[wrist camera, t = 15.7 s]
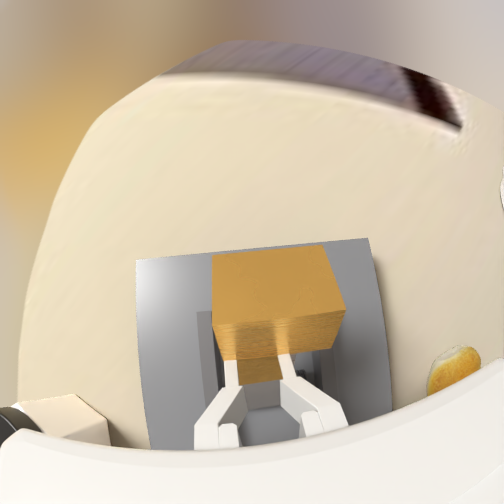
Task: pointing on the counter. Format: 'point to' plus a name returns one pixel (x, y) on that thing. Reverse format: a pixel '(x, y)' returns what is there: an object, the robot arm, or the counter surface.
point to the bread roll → (452, 368)
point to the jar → (56, 419)
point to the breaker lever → (275, 303)
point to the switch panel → (212, 365)
